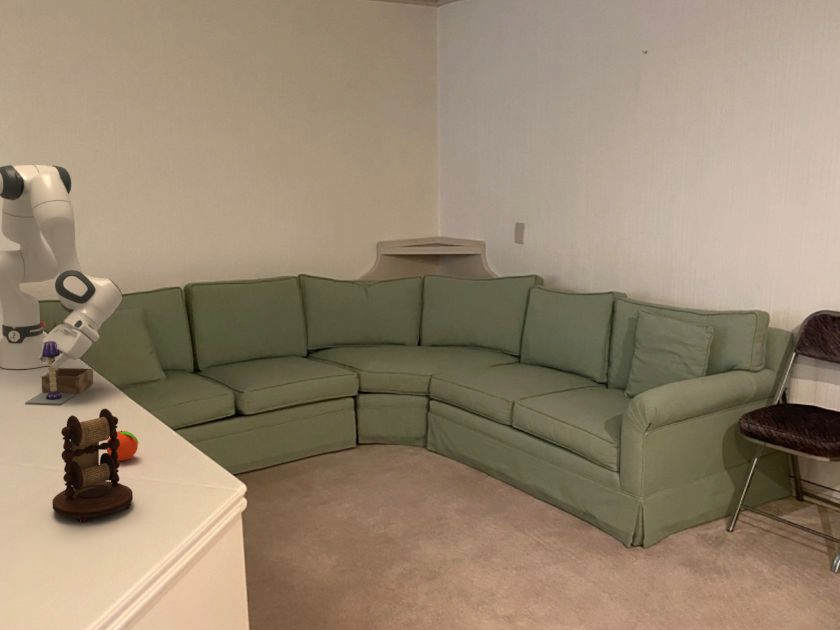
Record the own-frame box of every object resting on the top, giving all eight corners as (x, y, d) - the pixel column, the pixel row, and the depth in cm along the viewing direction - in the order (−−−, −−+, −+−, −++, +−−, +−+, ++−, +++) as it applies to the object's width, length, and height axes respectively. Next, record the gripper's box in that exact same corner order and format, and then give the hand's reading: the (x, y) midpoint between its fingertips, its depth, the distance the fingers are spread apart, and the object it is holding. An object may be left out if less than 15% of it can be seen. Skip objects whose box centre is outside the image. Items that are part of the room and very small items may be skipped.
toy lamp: (56, 400, 225) (54, 343, 223) (40, 399, 225) (38, 343, 223) (64, 396, 230) (62, 340, 227) (49, 395, 230) (46, 339, 228)
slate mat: (40, 394, 233) (40, 393, 232) (75, 395, 233) (75, 393, 233) (25, 404, 223) (25, 402, 223) (60, 405, 223) (60, 403, 223)
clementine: (148, 457, 185) (147, 428, 184) (130, 467, 179) (129, 437, 177) (119, 453, 187) (118, 424, 186) (100, 463, 181) (99, 433, 179)
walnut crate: (57, 383, 245) (57, 367, 244) (93, 384, 246) (92, 368, 245) (42, 392, 234) (41, 376, 234) (79, 393, 235) (78, 377, 234)
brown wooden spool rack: (108, 488, 167) (105, 397, 163) (147, 508, 157) (145, 412, 154) (39, 509, 155) (34, 412, 152) (76, 532, 146) (72, 429, 143)
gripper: (57, 314, 236) (25, 350, 231) (86, 325, 222) (51, 363, 217) (73, 327, 240) (41, 363, 235) (102, 339, 226) (68, 377, 221)
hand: (46, 363), depth 226 cm, fingers open, 8 cm apart
